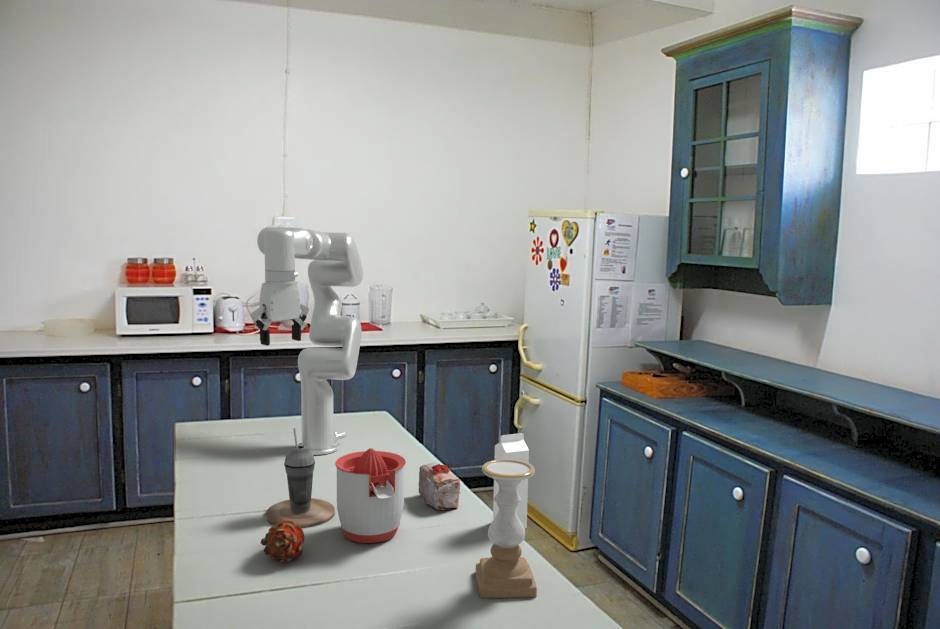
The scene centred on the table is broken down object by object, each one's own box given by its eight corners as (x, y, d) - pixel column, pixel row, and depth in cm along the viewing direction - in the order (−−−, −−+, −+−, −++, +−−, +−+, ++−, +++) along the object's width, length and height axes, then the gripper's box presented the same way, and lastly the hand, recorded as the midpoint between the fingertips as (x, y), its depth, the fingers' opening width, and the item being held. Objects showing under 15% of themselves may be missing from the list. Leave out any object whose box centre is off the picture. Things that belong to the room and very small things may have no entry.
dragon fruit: (284, 579, 150) (278, 562, 162) (318, 550, 153) (309, 534, 164) (257, 548, 149) (252, 533, 160) (292, 519, 151) (285, 506, 162)
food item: (463, 510, 184) (464, 471, 183) (434, 515, 181) (434, 475, 180) (441, 491, 197) (442, 455, 195) (413, 495, 193) (413, 458, 192)
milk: (526, 528, 174) (530, 436, 171) (503, 532, 172) (506, 439, 169) (514, 518, 180) (518, 429, 177) (492, 522, 177) (495, 431, 174)
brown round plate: (307, 497, 190) (307, 492, 190) (348, 514, 180) (348, 510, 180) (252, 514, 178) (252, 510, 178) (292, 534, 168) (292, 529, 168)
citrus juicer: (350, 557, 157) (350, 465, 155) (326, 526, 172) (326, 442, 170) (419, 544, 164) (420, 456, 162) (390, 515, 180) (390, 434, 177)
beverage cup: (308, 516, 175) (307, 433, 172) (279, 514, 176) (277, 431, 174) (320, 505, 182) (319, 425, 180) (292, 502, 184) (291, 423, 181)
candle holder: (474, 571, 152) (477, 458, 149) (528, 570, 153) (531, 457, 150) (480, 598, 141) (483, 476, 138) (537, 597, 142) (541, 476, 139)
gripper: (298, 274, 202) (299, 336, 205) (242, 278, 189) (243, 344, 192) (316, 276, 197) (316, 340, 200) (259, 280, 184) (260, 348, 187)
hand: (281, 342), depth 196 cm, fingers open, 9 cm apart
